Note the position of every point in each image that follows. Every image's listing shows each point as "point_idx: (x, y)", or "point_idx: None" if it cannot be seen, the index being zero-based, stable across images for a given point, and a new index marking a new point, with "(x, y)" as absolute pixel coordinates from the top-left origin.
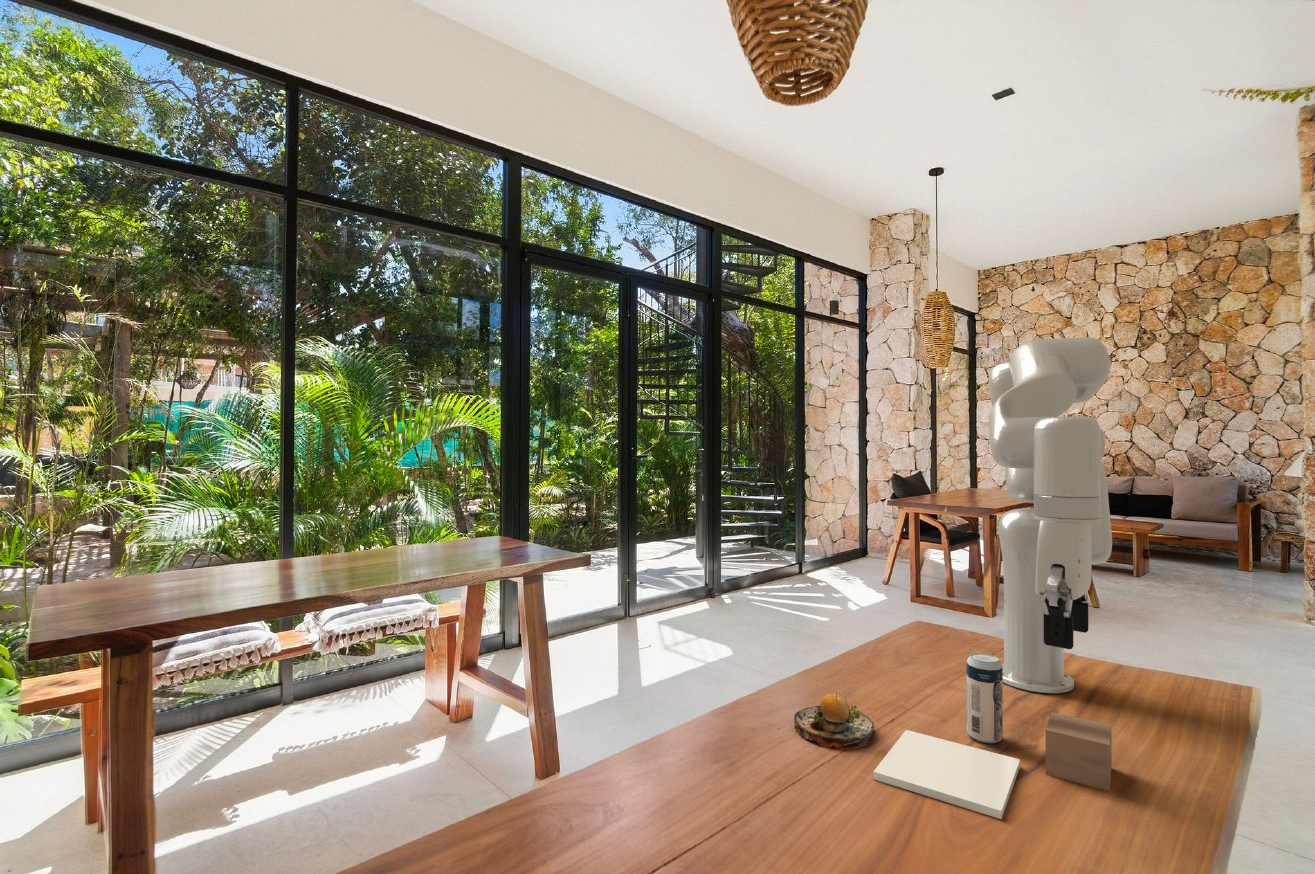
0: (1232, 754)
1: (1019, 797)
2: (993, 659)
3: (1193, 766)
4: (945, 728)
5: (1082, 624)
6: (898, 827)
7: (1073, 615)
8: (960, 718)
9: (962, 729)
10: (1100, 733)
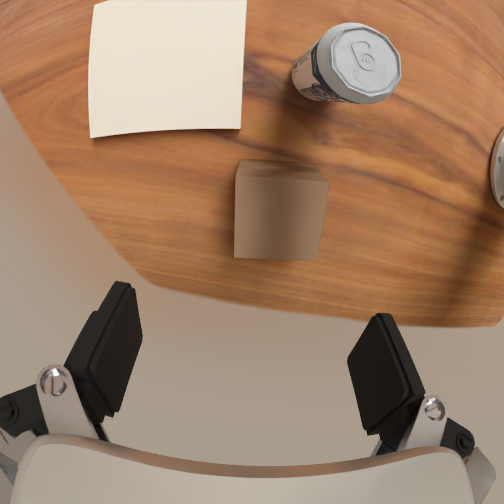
0: None
1: (152, 140)
2: (369, 82)
3: (350, 296)
4: (318, 25)
5: (355, 370)
6: (37, 74)
7: (372, 377)
8: None
9: None
10: (271, 248)
